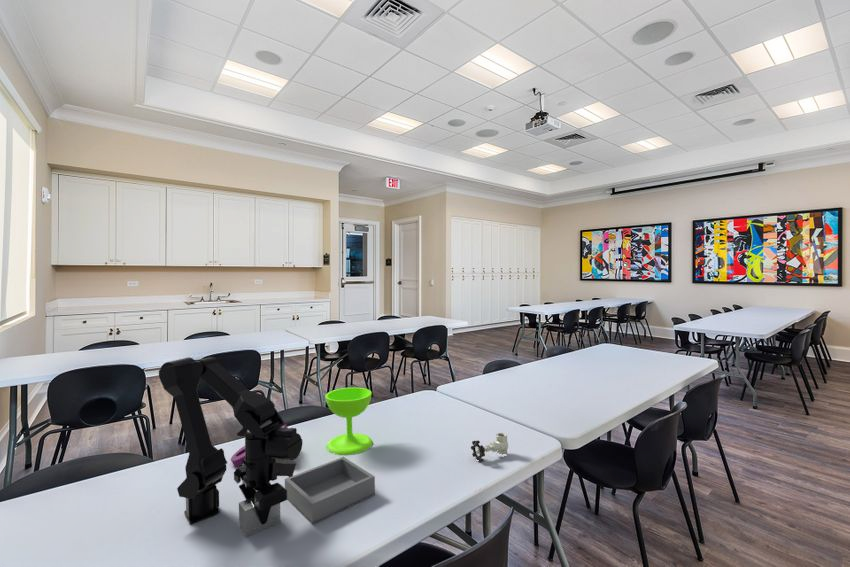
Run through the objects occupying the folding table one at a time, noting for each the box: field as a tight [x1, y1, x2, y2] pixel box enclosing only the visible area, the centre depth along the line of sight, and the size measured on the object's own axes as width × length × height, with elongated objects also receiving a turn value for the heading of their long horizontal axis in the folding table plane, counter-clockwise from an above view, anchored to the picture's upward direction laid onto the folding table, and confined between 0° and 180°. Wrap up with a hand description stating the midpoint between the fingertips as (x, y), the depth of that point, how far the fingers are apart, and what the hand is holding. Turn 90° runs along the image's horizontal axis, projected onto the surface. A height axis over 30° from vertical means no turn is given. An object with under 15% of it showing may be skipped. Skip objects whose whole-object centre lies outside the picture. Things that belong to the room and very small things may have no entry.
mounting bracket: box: [230, 422, 289, 467], centre depth 125 cm, size 9×8×18 cm
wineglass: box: [324, 387, 373, 456], centre depth 134 cm, size 16×16×18 cm
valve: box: [470, 432, 509, 463], centre depth 123 cm, size 7×7×12 cm
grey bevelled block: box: [238, 497, 282, 538], centre depth 91 cm, size 8×4×6 cm, turn 133°
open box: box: [284, 456, 376, 525], centre depth 103 cm, size 18×16×5 cm
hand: (260, 519), depth 91 cm, fingers closed on grey bevelled block, 4 cm apart
